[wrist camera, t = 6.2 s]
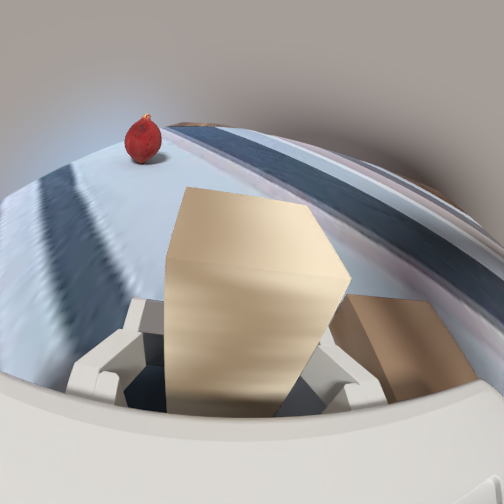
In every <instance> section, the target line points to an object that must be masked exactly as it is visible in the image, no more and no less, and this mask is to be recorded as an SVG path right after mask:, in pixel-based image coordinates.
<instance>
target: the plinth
mask: <svg viewBox="0 0 504 504" xmlns="http://www.w3.org/2000/svg"><path fill="white" fill-rule="evenodd" d="M329 329H330V332H331V334H332V337H333V339H334V342H335V345H337V346H338V347H340V348H341V349H342V350H343V351H344V352H345V353H347V354H348V355H349V356H350V357H351V358H353V359H354V360H355V361H356V362H357V363H359V364H360V365H361V366H362V367H363V368H365V369H366V370H367V371H368V372H369V373H371V374H372V375H373V376H374V377H376V378H377V379H378V380H379V383H380V385H381V388H382V390H383V392H384V395H385V397H386V400H387V402H388V404H392V403H397V402H402V401H406V400H410V399H415V398H419V397H422V396H426V395H430V394H434V393H437V392H441V391H444V390H447V389H451V388H454V387H457V386H460V385H463V384H466V383H469V382H472V381H474V380H478V377H477V375H476V374H475V372H474V370H473V369H472V367H471V365H470V364H469V362H468V360H467V359H466V357H465V355H464V354H463V352H462V351H461V349H460V347H459V346H458V344H457V343H456V341H455V340H454V338H453V337H452V335H451V334H450V332H449V331H448V329H447V328H446V326H445V325H444V323H443V322H442V320H441V319H440V317H439V316H438V314H437V313H436V312H435V310H434V309H433V307H432V306H431V305H430V303H429V302H428V301H418V300H406V299H395V298H384V297H373V296H363V295H353V294H346V296H345V298H344V300H343V302H342V303H341V305H340V307H339V309H338V311H337V312H336V314H335V316H334V318H333V320H332V321H331V323H330V325H329Z"/></svg>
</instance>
